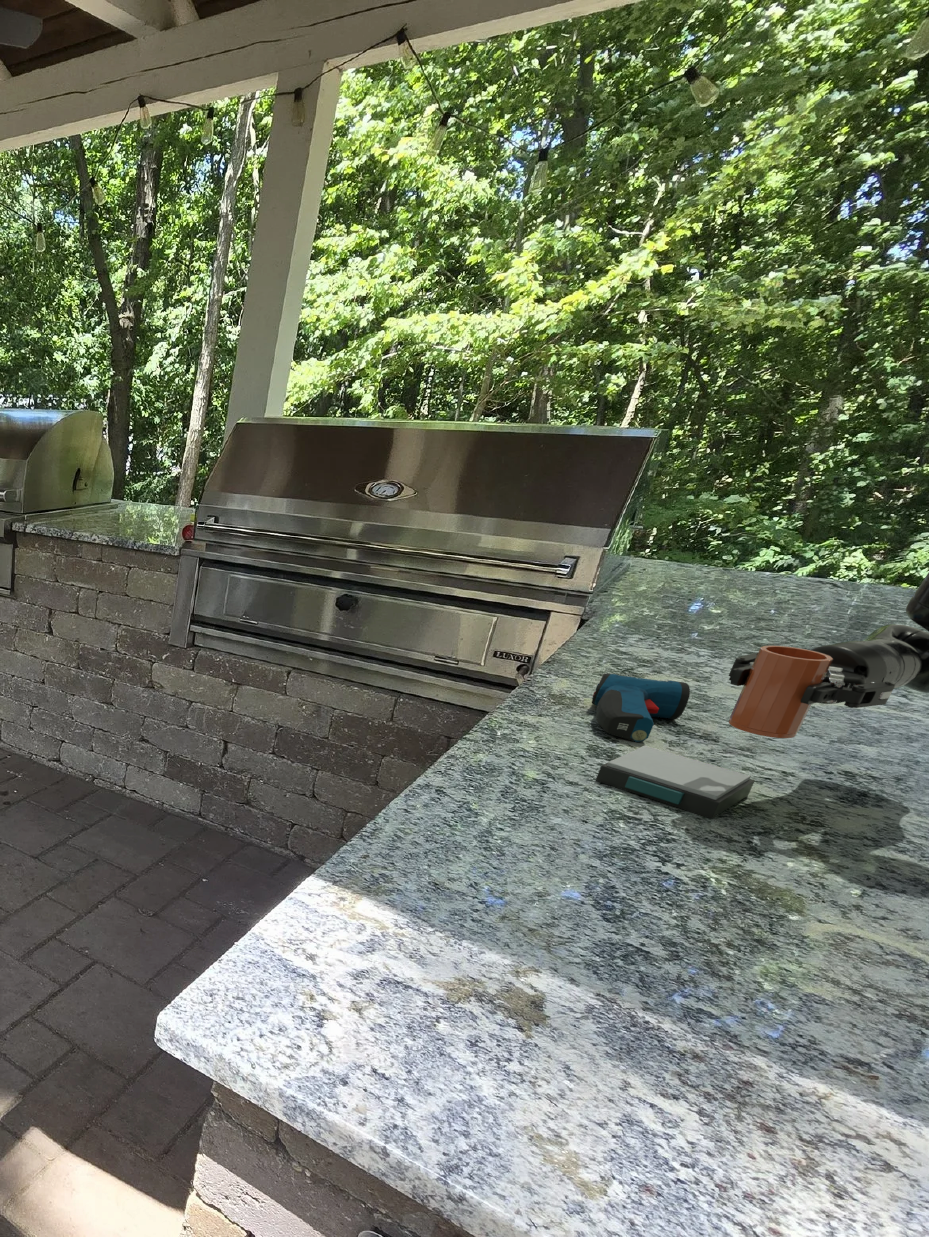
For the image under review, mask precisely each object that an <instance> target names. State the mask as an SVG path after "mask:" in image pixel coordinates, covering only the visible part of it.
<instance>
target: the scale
mask: <svg viewBox="0 0 929 1237" xmlns="http://www.w3.org/2000/svg"><path fill="white" fill-rule="evenodd" d="M595 781H596V782H599V783H601V784H604V785H608V786H612V787H614V788H617V789H620V790H623V791H626V792H629V793H632V794H634V795H638V796H641V797H645V798H647V799H650V800H653V801H656V802H659V803H661V804H662V803H663V804H665V805H669V806H671V807H675V808H677V809H680V810H682V811H683V810H684V811H686V812H689V813H693V814H695V815H699V816H701V817H705V818H708V819H711V820H712V819H714V818H716V817H717V816H719V815H720V814H722V813H723V812H725V811H726V810H728V809H729V808H731V807H732V806H734V805H736V804H737V803H738V802H739V803H740V802H741V801H742V800H744V799H745V798H747V797H748V796H749V794H750V792H751V790H752V787H753V786H754V784H755V782H756V781H755V780H754V779H752V778H751V775H749V774H745V773H742V772H739V771H735V770H733V769H732V770H731V769H730V768H729V769H728V768H724V767H722V766H718V765H714V764H711V763H707V762H704V761H700V760H697V759H694V758H691V757H686V756H683V755H681V754H677V753H673V752H669V751H666V750H663V749H659V748H655V747H652V746H648V745H642V746H640V747H637V748H636V749H634V750H631V751H629V752H627V753H625V754H622V755H621V756H618V757H616V758H614V759H612V760H610V761H608V762H606V763H604V764H602V765H601V764H600V768H599V770H598V773H597V776H596V778H595Z"/></svg>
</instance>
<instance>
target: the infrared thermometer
mask: <svg viewBox="0 0 929 1237" xmlns="http://www.w3.org/2000/svg"><path fill="white" fill-rule="evenodd" d="M690 689H691V688H690V685H689V684H688V683H687V682H685V681H684V682H683V681H676V680H675V681H674V680H668V681H666V680H659V679H652V678H651V679H650V678H643V677H635V676H626V675H619V674H616V673H603V674H602V676H601V678H600V680H599V682H598V683H597V684H596V688H595V691H594V692H593V694H592V698H591V704H592V705H593V706H596V710H595V717H596V721H597V723H598V725H599V726H600V727H601V728H602V729H603V731H605V732H606V733H607V734H609V735H611V736H615V737H618V738H621V739H624V740H628V741H632V742H634V741H635V743H641V742H644V741H646V740H648V738H649V736H650V735H651V733H652V730H653V728H654V725H655V723H654V720H653V718H659V717H660V718H659V719H667V718H668V719H669V720H677V719H679V718H681V716H682V715H683V714H684V711H685V709H686V708H687V705H688V702H689V700H690V694H691V690H690Z"/></svg>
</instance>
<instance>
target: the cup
mask: <svg viewBox="0 0 929 1237" xmlns="http://www.w3.org/2000/svg"><path fill="white" fill-rule="evenodd" d="M757 653H758V654H757V657H756V659H755V661H754V663H753V666H752V668H751V670H750V673H749V675H748V677H747V679H746V682H745V684H744V685H742V686H743V687H742V689H741V691H740V693H739V696H738V698H737V700H736V702H735V705H734V707H733V710H732V711H731V714H730V716H729V720H728V725H730V726H731V727H733V728H735V729H737V730H740V731H743V732H746V733H749V734H753V735H757V736H762V737H767V738H773V739H792V738H795V737H796V736H797V734H798V732H799V731H800V730H801V727H802V725H803V723H804V721H805V719H806V717H807V715H808V714H809V711H810V708H811V707H812V704H809V705H808V704H805V703H801V699H802V697H803V694H804V692H805V690H806V688H807V687H808V686H809V685H814V684H819V683H822V681H823V679H824V677H825V675H826V673H827V671H828V669H829V667H830V665H831V663H832V661H833V658H832V657H831V656H828V655H826V654H823V653H819V652H815V651H811V650H810V649H806V648H801V647H795V646H794V647H793V646H787V645H763V646H761V647H760V648H759V650H758V652H757Z"/></svg>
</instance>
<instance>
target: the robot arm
mask: <svg viewBox="0 0 929 1237" xmlns="http://www.w3.org/2000/svg"><path fill="white" fill-rule="evenodd" d="M905 613H906V616H907V617H908V618H909V619H910V621H912V622H914V623H915V624H917V626H919V627H921V628H923V629H924V630H926V631H924V630H922V629H919V628H916V627H913V626H910V625H906V624H897V623H892V624H891V623H890V624H885V625H883V626H880V627H878V628H877V629H875V630H873V631H872V632H871V633H869V634H868V635H867V636H866V637H865V638H864V639H863V640H848V641H842V642H837V643H831V644H826V645H820V646H815V647H813V648H810V649H809V650H811V651H815V652H819V653H823V654H826V655H828V656H831V657H832V658H833V661H832V663H831V665H830V667H829V669H828V671H827V673H826V675H825V677H824V679H823V681H822V683H819V684H814V685H809V686H808V687H807V688H806V690H805V692H804V694H803V697H802V699H801V703H805V704H808V705H809V704H811V705H813V704H823V705H834V704H835V705H836V704H841V703H844V704H843V705H844V706H845V707H847V708H850V709H859V708H868V707H875V706H883V705H886V704H887V703H888V700H889V699H890V698H891V695H892V693H893V690H894V689H897V688H901V687H905V688H908V689H911V690H913V691H916V692H920V693H924V694H929V572H927V574H926V575H925V576H924V579H923V580H922V582H921V583H920V584H919V586H918V587H917V589H916V590H915V592H914V593H913V595H912V596H911V598H910V599H909V600H908V603H907V605H906V607H905ZM757 654H758V652H751V653H747V654H745V655H742V656H738V657H736V658H735V660H734V662H733V664H732V667H731V669H730V671H729V673H728V677H729V678H728V681H730V685H732V686H736V687H741V686H744V684H745V682H746V679H747V677H748V675H749V673H750V670H751V668H752V666H753V663H754V661H755V659H756V657H757Z"/></svg>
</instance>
